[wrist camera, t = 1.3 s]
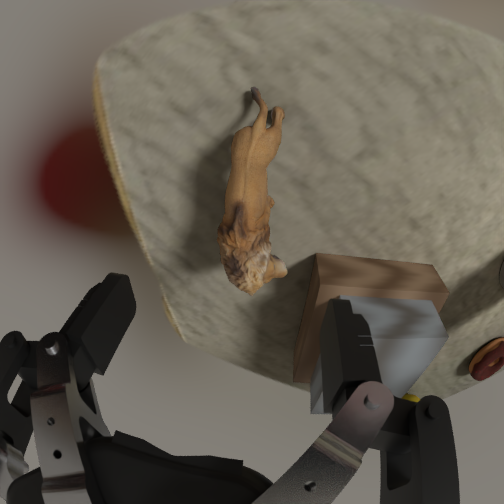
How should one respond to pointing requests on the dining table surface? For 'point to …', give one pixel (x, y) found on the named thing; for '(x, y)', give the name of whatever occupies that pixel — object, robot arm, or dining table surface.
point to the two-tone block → (375, 317)
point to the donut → (487, 360)
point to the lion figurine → (251, 204)
